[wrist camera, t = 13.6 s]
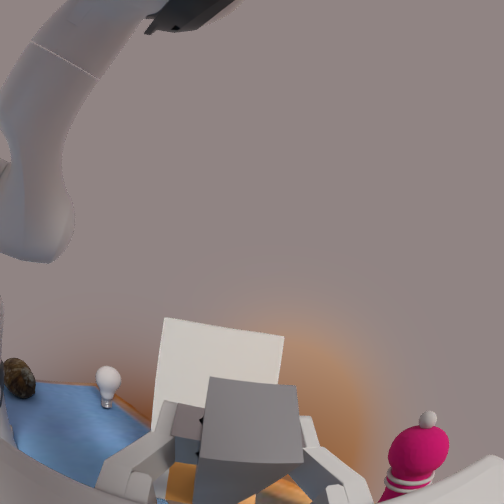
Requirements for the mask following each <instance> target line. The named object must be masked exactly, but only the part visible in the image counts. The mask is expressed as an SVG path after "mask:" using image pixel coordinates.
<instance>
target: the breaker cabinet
mask: <svg viewBox="0 0 504 504" xmlns="http://www.w3.org/2000/svg"><path fill="white" fill-rule="evenodd" d="M283 343H284V337H283V336H277V335H271V334H266V333H259V332H251V331H244V330H238V329H231V328H225V327H219V326H213V325H208V324H202V323H196V322H191V321H186V320H181V319H174V318H166V317H165V318H164V324H163V330H162V337H161V344H160V350H159V358H158V365H157V374H156V382H155V391H154V401H153V411H152V423H151V431H152V432H154V431H155V428H156V424H157V421H158V417H159V414H160V410H161V407H162V404H163V402H164V400H167V401H172V402H176V403H181V404H186V405H191V406H196V407H201V408H205V403H206V396H207V390H208V383H209V377H210V376H211V377H217V378H224V379H231V380H239V381H247V382H256V383H266V384H277V383H278V377H279V370H280V364H281V357H282V351H283ZM168 475H169V469H168V470H166V471H165V472H164V473H163V474H162V475H161V476H160V477H159V478H158V479H156V480H155V481H154V482H153V486H154V491H155V495H156V498H160V499H165V495H166V488H167V481H168ZM255 497H256V494H255Z"/></svg>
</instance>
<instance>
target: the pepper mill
mask: <svg viewBox="0 0 504 504" xmlns="http://www.w3.org/2000/svg"><path fill="white" fill-rule="evenodd" d="M436 421H437V416H436V414H435V413H434V412H432V411H427V412H425V413H423V414H422V415H421V416H420V419H419V425H418V426H413V427H411V428H408V429H406V430H404V431H403V432H401V433H400V434H399V435H398V436H397V437H396V438H395V440H394V441H393V443H392V445H391V447H390V449H389V454H388V460H389V464H390V465H391V467H390V468H389V469H388V471H387V476H386V477H385V479H384V483H385V485H386V488H385V491H384V493H383V495H382V497H381V498H380V500H379V501H378V503H379V502H382V501H386V500H389V499H392V498H395V497H398V496H401V495H404V494H407V493H410V492H413V491H415V490H418V489H420V488H423V487H425V486H428V485H430V484H431V483H432V479H433V478H434V476H435V471H434V470H436V469H437V468H438V467H440V466H441V465H442V463H443V462H444V461H445V459H446V456H447V454H448V449H449V440H448V436H447V435H446V433H445V432H444V431H443V430H441V429H440V428H438V427H435V426H434V425H435V423H436Z"/></svg>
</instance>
